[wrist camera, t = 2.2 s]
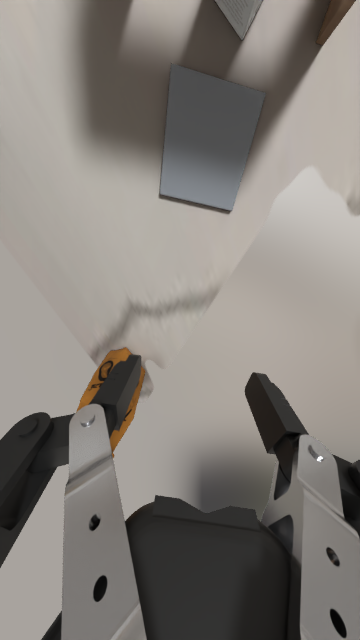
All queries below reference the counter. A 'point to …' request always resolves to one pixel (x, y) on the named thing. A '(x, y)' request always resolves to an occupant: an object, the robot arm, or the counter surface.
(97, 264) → the counter surface
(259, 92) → the slate mat
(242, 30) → the skincare box
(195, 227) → the counter surface
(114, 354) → the coffee package
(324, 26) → the walnut shelf
